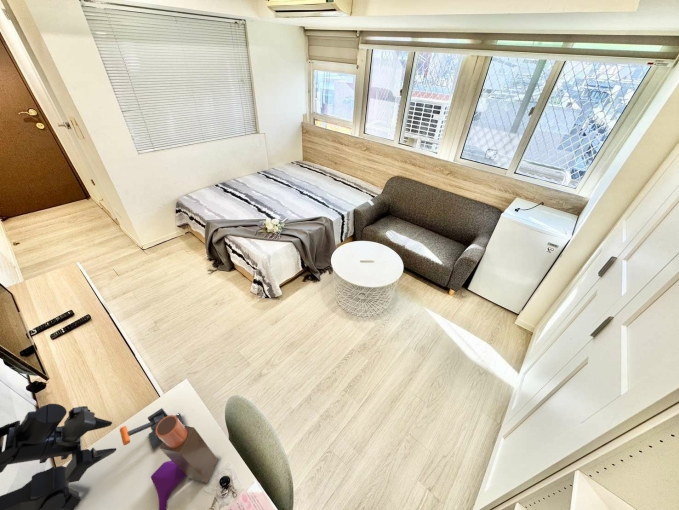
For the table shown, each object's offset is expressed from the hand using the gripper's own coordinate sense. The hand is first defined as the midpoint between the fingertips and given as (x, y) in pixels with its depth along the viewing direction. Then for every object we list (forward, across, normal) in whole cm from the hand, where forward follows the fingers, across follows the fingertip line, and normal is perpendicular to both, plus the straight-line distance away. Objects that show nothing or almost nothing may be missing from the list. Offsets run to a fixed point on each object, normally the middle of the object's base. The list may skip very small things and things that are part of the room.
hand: (113, 436), depth 79 cm
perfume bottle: (+14, -13, -1) cm, 19 cm away
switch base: (+18, +1, +2) cm, 18 cm away
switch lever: (+8, +1, 0) cm, 9 cm away
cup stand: (+22, -18, -2) cm, 29 cm away
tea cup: (+3, -18, -18) cm, 26 cm away
